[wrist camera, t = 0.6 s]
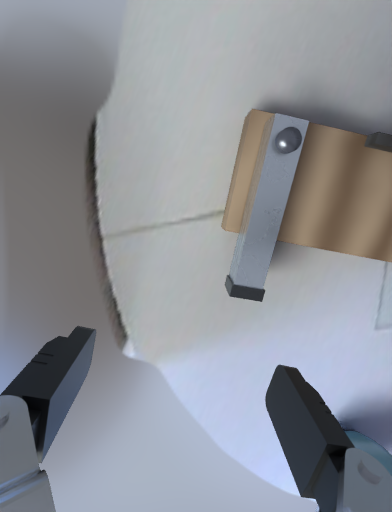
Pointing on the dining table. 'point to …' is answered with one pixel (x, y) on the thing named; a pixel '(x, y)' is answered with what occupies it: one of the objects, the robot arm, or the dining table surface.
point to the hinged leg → (265, 205)
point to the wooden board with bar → (325, 190)
